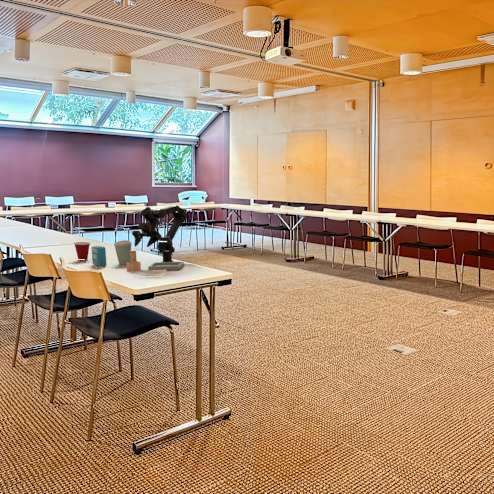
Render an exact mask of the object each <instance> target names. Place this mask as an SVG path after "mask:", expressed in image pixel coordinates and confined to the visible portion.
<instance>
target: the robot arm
mask: <svg viewBox="0 0 494 494" xmlns="http://www.w3.org/2000/svg"><path fill="white" fill-rule="evenodd" d="M140 214H141V216H142V218H143V219H144V220H145V221H146V222H138V227H137V228H138V229H140V230H141V232H140V230H132V233H131V235H132V236H133V237H134V247H137V246H139V244H140V243H141V241H142V239H143V237H144V238H145V237H147V238H149V239H148V242H147V244H146V247H147V248H149V247H150V246H153V244H155V243H157V242H158V243H157V248H158V249H157V250H158V252H159V253H161V254H162V261H161V262H174V259H173V257H172V255H173V253H175V250H176V249H175V247H174V246H173V245H174V244H173V240H174V238H175V236H176V234H177V232H178V230H179V229H180V226H181V225H182V224H184V223H185V222H186V221H187V219H188V216H189V215H188V213H187V211H185V209H183V208H182V207H180V206H179V205H176V204H174V205H173V204H172V205H170V206H167V207H164V208H155V209H154V208H153V209H151V207H150V206H146V207H145V208H143V209H142V210H141V211H140ZM170 214H171V215H172V216H173V222H172V223H171V226H170V227H169V229H168V230H167V233H166V235H165V236H164V237H163V236H162V234H161V233H160V232H159V231H158V230H157V229H156V228H157V226H159V225H161V222H160V221H161V219H164V218H165V217H166V216H167V215H170ZM159 219H160V220H159Z"/></svg>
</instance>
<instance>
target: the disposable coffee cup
mask: <svg viewBox="0 0 494 494" xmlns="http://www.w3.org/2000/svg"><path fill="white" fill-rule="evenodd" d="M114 248H115V249H114V250H115V253H116V257H117V261H118V264H119V265H123V266H124V265H125V266H127V265H126V263H127V262H130V251H132V242H131V240H118V241H115V243H114Z"/></svg>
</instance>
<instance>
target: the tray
mask: <svg viewBox="0 0 494 494" xmlns="http://www.w3.org/2000/svg"><path fill="white" fill-rule="evenodd" d="M184 265H185V264H184V261H173V262H162V261H160V262H159V261H158V262H157V261H156V262H153V263H151V264H150V265H149V266H148V267H147V268H148V271H153V270H154V271H155V270H159V271H160V270H165V271H166V272H167V271H169V272H170V271H180V270H181V269H182V268H183V267H185V266H184Z"/></svg>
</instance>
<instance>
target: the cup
mask: <svg viewBox="0 0 494 494" xmlns="http://www.w3.org/2000/svg"><path fill="white" fill-rule="evenodd" d="M141 265H142V264H141V261H137V263H130V262H127V263H126V265H125V266H126V271H129V272H133V271H140V270H142V266H141Z"/></svg>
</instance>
